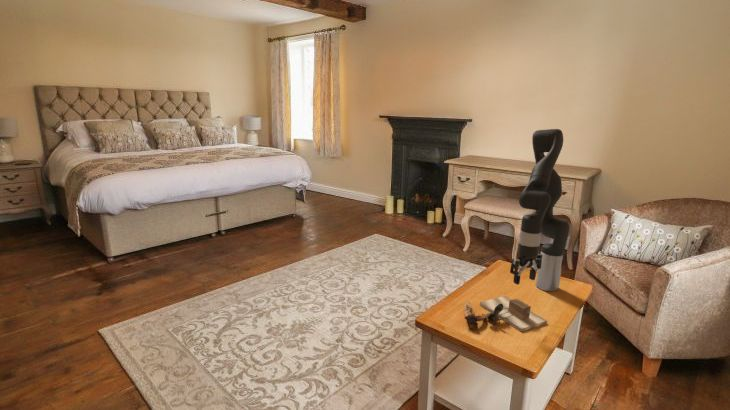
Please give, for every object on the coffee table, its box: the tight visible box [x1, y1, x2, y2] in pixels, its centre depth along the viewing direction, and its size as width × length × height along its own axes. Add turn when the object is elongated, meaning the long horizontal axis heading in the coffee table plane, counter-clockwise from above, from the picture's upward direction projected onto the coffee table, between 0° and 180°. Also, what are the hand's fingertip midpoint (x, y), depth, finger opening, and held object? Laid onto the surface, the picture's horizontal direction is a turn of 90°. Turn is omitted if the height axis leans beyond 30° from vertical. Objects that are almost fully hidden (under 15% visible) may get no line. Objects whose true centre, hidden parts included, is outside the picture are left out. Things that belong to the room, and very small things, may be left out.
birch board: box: [479, 295, 548, 332], centre depth 160 cm, size 14×22×1 cm, turn 27°
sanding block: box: [508, 298, 532, 320], centre depth 156 cm, size 4×7×5 cm, turn 27°
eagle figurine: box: [485, 304, 504, 326], centre depth 154 cm, size 8×7×9 cm
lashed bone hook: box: [463, 301, 487, 330], centre depth 155 cm, size 9×5×18 cm
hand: (524, 281), depth 153 cm, fingers open, 8 cm apart
